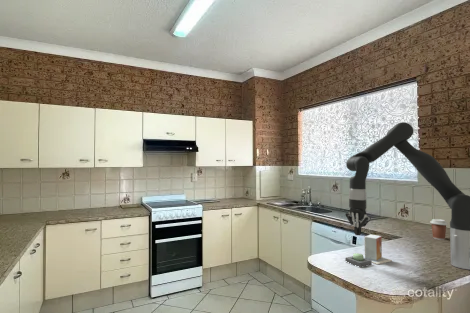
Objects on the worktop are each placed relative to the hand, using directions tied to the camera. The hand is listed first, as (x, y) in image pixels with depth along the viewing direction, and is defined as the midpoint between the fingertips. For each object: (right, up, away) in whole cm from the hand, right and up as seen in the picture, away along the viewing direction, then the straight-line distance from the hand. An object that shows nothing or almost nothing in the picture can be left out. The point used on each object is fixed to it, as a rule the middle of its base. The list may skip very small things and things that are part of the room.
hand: (357, 234), depth 129 cm
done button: (0, -12, -1) cm, 12 cm away
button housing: (0, -13, -1) cm, 13 cm away
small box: (+10, -13, +6) cm, 18 cm away
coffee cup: (+74, -16, +47) cm, 89 cm away
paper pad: (+10, -14, +5) cm, 18 cm away
